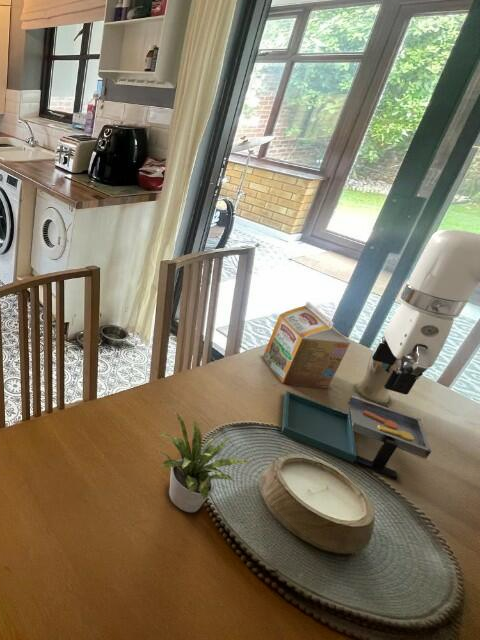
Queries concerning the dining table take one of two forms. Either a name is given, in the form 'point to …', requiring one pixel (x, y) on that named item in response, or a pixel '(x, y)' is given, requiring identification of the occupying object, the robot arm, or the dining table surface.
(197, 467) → the house plant
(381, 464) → the dish cradle
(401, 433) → the brass key
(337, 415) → the tray
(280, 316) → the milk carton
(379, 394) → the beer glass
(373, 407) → the key dish
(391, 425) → the copper key
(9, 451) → the dining table surface
